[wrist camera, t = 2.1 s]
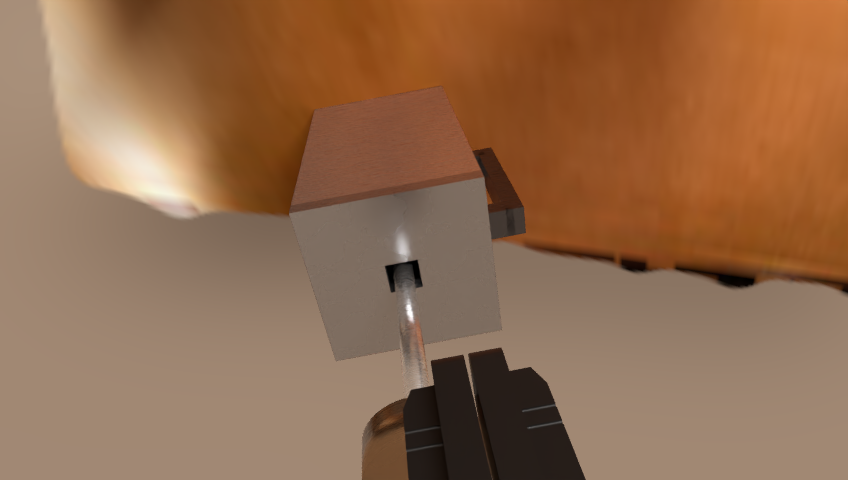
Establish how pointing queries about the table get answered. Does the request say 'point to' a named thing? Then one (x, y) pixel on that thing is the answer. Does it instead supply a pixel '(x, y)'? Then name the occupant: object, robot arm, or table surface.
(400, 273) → the brass disc knob
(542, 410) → the robot arm
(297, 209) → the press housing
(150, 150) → the table surface
